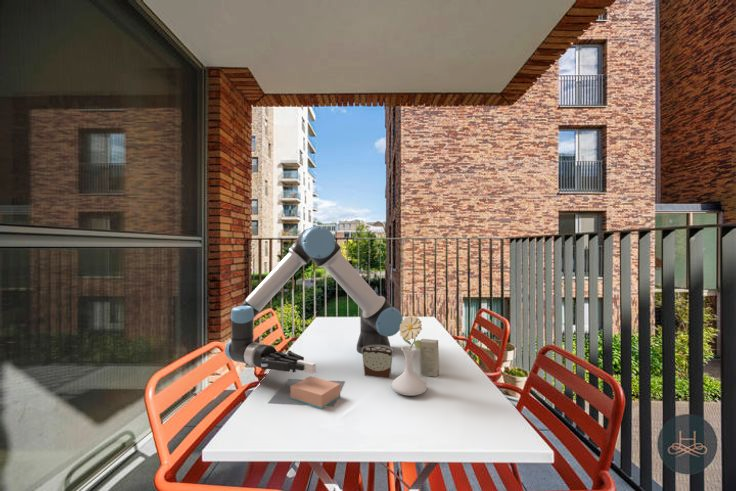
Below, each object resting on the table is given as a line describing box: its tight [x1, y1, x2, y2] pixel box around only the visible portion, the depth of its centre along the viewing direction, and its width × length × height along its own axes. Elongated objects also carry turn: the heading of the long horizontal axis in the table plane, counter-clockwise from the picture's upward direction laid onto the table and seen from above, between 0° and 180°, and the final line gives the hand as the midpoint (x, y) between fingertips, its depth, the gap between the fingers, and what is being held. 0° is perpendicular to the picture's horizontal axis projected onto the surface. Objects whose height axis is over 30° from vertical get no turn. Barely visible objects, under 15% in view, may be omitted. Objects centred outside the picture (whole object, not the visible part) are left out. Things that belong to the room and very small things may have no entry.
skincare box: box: [418, 338, 440, 378], centre depth 122 cm, size 6×4×12 cm
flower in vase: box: [391, 314, 428, 397], centre depth 107 cm, size 13×11×25 cm
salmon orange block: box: [290, 375, 341, 410], centre depth 102 cm, size 4×9×12 cm
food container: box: [360, 345, 395, 380], centre depth 122 cm, size 12×6×10 cm, turn 71°
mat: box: [267, 378, 346, 408], centre depth 107 cm, size 20×18×1 cm
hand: (314, 368), depth 102 cm, fingers closed
